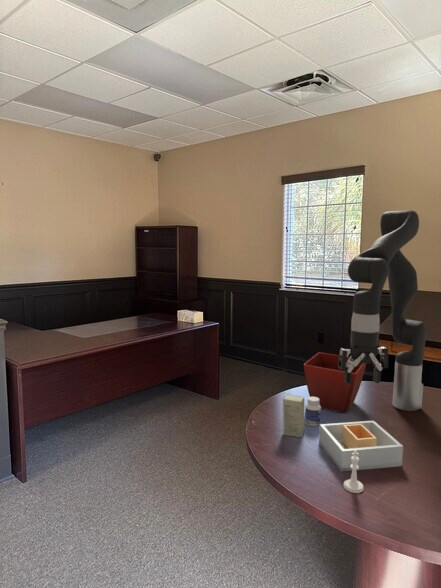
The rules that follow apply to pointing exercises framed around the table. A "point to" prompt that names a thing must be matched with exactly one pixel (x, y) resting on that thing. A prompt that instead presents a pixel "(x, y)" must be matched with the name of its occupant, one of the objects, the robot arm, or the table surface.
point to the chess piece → (354, 477)
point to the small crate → (357, 437)
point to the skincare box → (293, 415)
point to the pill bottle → (313, 412)
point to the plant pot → (332, 382)
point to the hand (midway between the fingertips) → (362, 383)
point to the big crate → (369, 457)
